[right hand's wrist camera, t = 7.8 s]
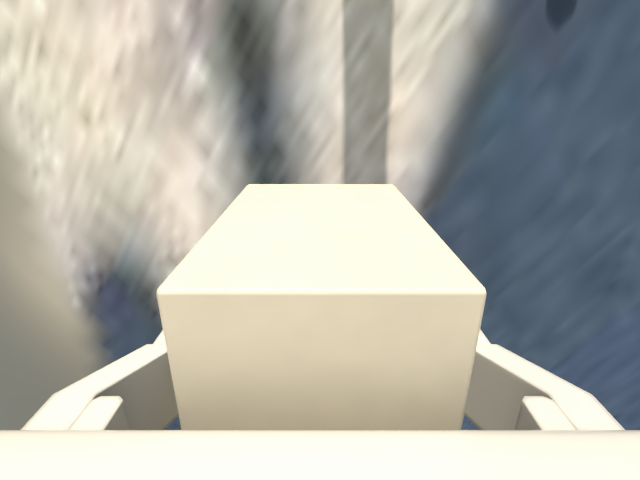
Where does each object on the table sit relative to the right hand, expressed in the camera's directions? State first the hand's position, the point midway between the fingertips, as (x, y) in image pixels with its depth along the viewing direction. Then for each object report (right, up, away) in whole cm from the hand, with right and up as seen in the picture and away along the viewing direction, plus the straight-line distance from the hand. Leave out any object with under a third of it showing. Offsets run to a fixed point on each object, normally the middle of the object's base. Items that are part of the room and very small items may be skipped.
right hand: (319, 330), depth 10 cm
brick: (0, +1, +3) cm, 3 cm away
